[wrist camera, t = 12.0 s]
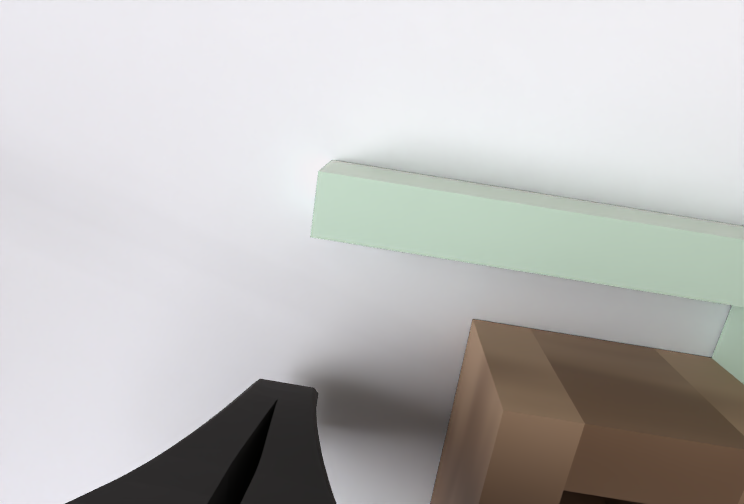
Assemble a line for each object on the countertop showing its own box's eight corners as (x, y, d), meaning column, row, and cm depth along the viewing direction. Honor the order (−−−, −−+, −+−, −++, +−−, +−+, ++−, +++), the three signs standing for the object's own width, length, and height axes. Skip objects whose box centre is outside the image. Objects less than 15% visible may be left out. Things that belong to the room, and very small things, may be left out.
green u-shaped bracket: (648, 638, 14) (684, 715, 12) (278, 576, 14) (260, 644, 12) (819, 238, 10) (903, 265, 9) (332, 159, 10) (318, 171, 9)
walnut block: (638, 545, 13) (722, 701, 9) (428, 511, 13) (439, 653, 10) (711, 357, 11) (843, 466, 8) (472, 319, 11) (503, 410, 8)
